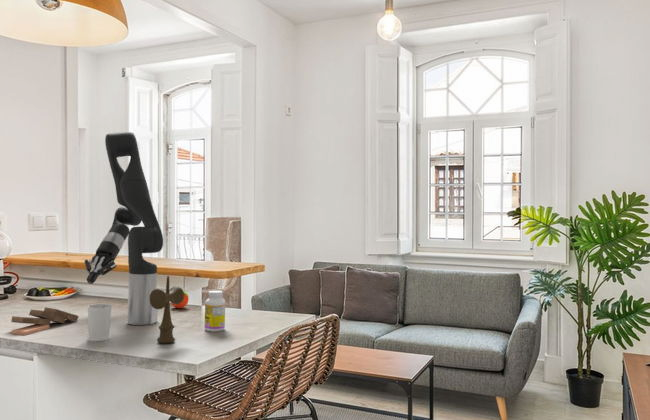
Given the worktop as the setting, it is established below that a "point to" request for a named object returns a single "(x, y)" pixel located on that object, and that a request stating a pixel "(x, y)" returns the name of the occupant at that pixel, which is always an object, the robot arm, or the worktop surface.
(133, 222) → the robot arm
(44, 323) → the domino
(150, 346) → the worktop surface
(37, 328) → the domino
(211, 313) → the supplement bottle
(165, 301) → the kendama
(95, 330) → the drinking glass
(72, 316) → the domino
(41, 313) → the domino
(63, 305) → the worktop surface
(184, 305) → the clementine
